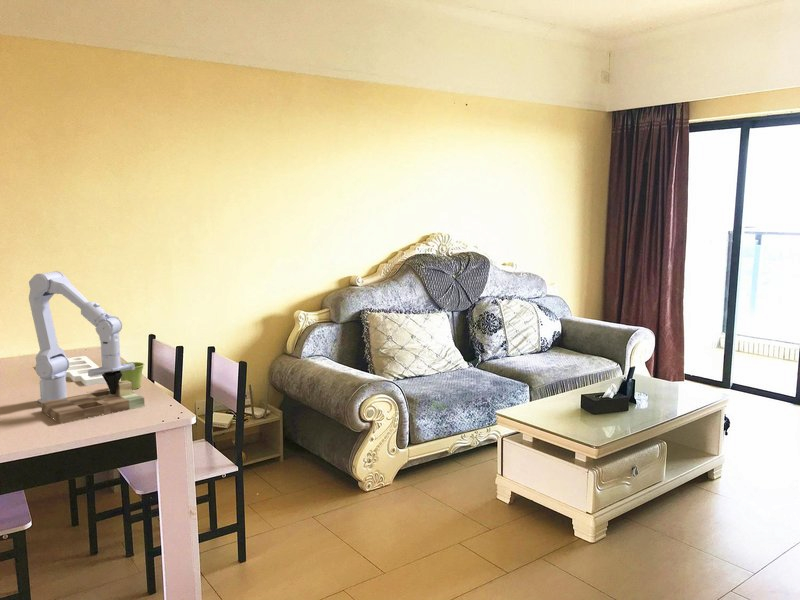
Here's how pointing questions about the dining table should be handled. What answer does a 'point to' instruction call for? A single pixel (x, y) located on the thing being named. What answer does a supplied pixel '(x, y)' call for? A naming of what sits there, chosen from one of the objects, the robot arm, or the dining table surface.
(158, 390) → the dining table surface
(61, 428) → the dining table surface
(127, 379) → the plant pot
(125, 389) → the maple block
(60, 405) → the trap board
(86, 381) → the holder
